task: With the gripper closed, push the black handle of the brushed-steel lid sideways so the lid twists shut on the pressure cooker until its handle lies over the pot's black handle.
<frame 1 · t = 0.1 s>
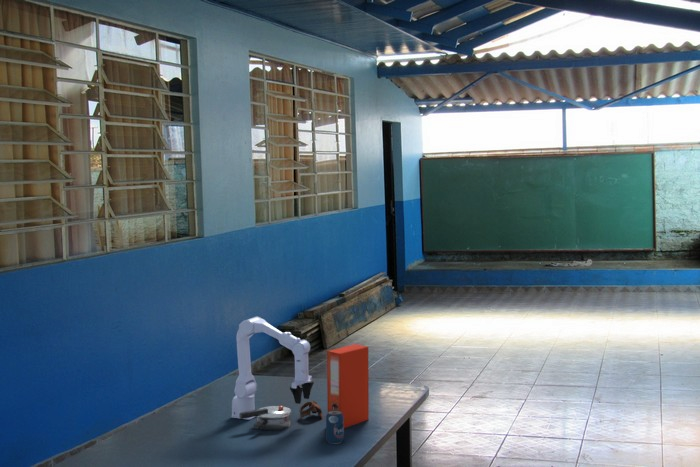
hand: (302, 400, 355), 10 cm above the table, tool pointing down, fingers open, 7 cm apart
cooker lid: (265, 412, 352), point 6 cm above the table, hinge at 35.0°
file binder: (348, 423, 357), on the table
pottery mug: (312, 418, 365), on the table
soda can: (335, 442, 333), on the table
cooker pot: (273, 425, 355), on the table
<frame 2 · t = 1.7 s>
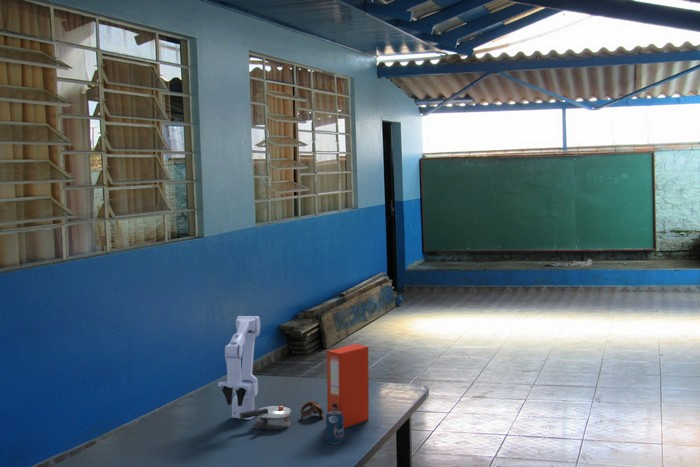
hand: (234, 405, 349), 10 cm above the table, tool pointing down, fingers open, 4 cm apart
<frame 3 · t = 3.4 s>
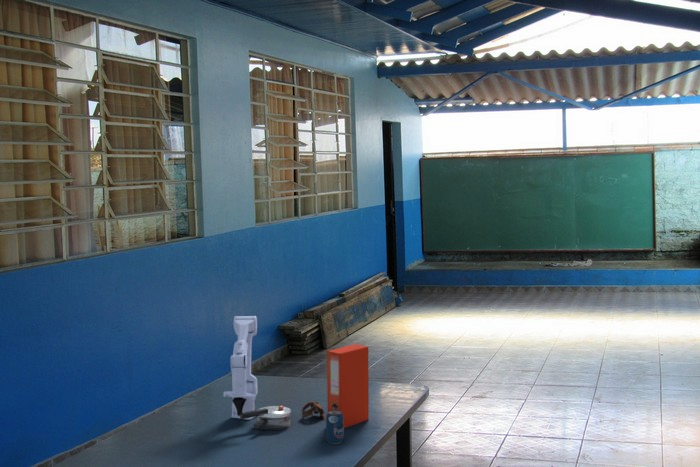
hand: (239, 415, 348), 6 cm above the table, tool pointing down, fingers closed, pressing on cooker lid
cooker lid: (265, 412, 352), point 6 cm above the table, hinge at 33.6°, touching gripper
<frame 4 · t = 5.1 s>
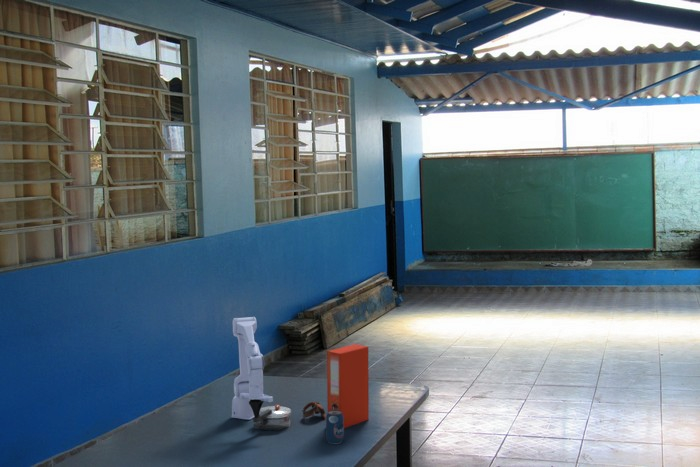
hand: (256, 417, 345), 6 cm above the table, tool pointing down, fingers closed
cooker lid: (268, 413, 351), point 6 cm above the table, hinge at -0.2°, touching gripper
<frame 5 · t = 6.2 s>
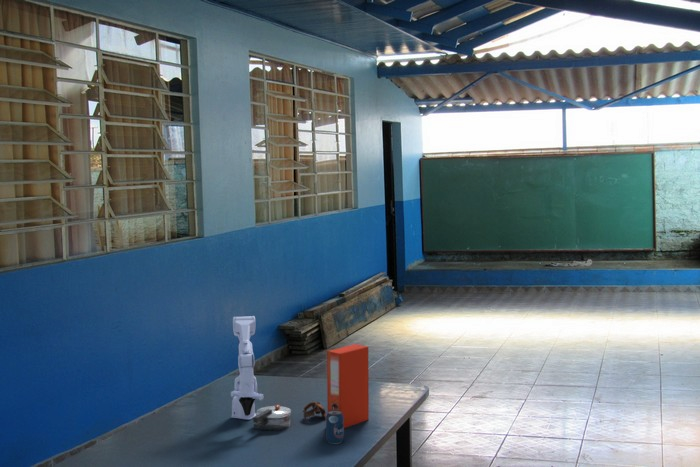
hand: (247, 414, 346), 7 cm above the table, tool pointing down, fingers closed
cooker lid: (268, 413, 351), point 6 cm above the table, hinge at -0.3°
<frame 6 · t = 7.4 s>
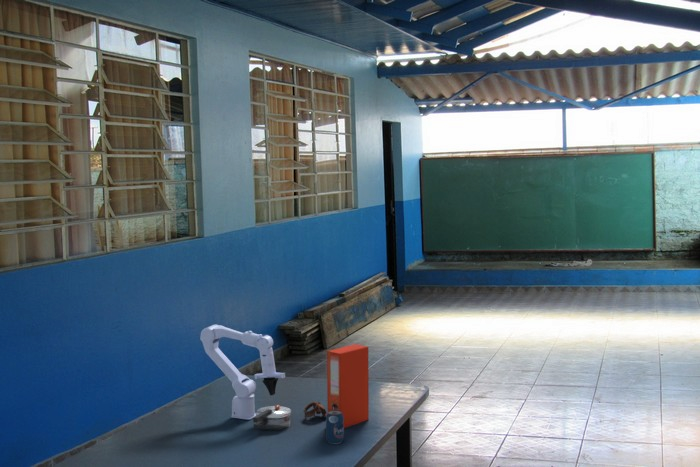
hand: (272, 394, 363), 11 cm above the table, tool pointing down, fingers closed
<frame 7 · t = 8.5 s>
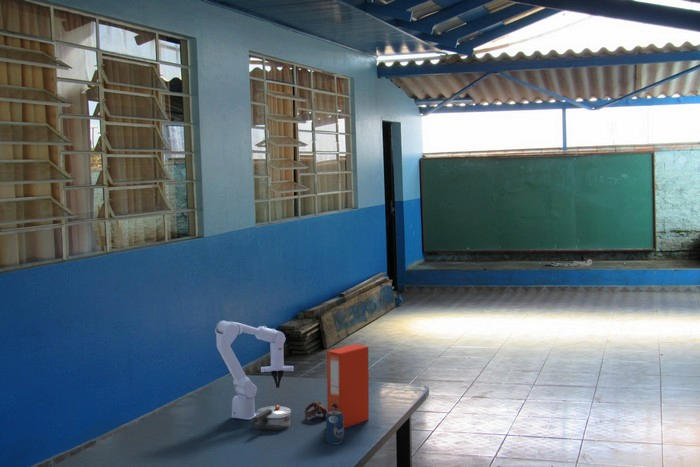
hand: (277, 387, 375), 10 cm above the table, tool pointing down, fingers closed
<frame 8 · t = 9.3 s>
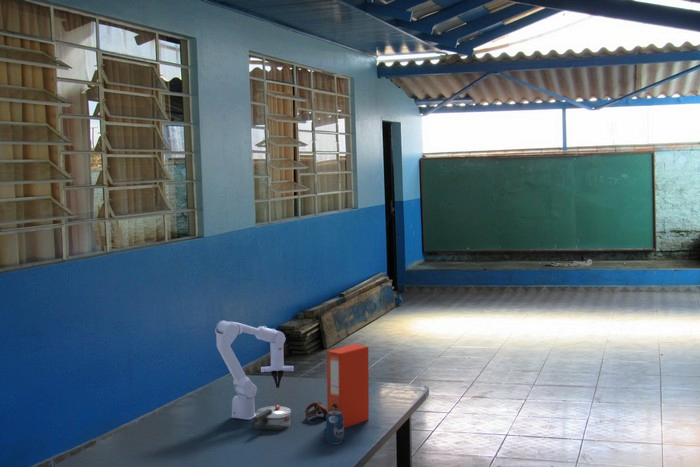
hand: (277, 387, 375), 10 cm above the table, tool pointing down, fingers closed
at the end: cooker lid at +0° (first picture: +35°) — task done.
